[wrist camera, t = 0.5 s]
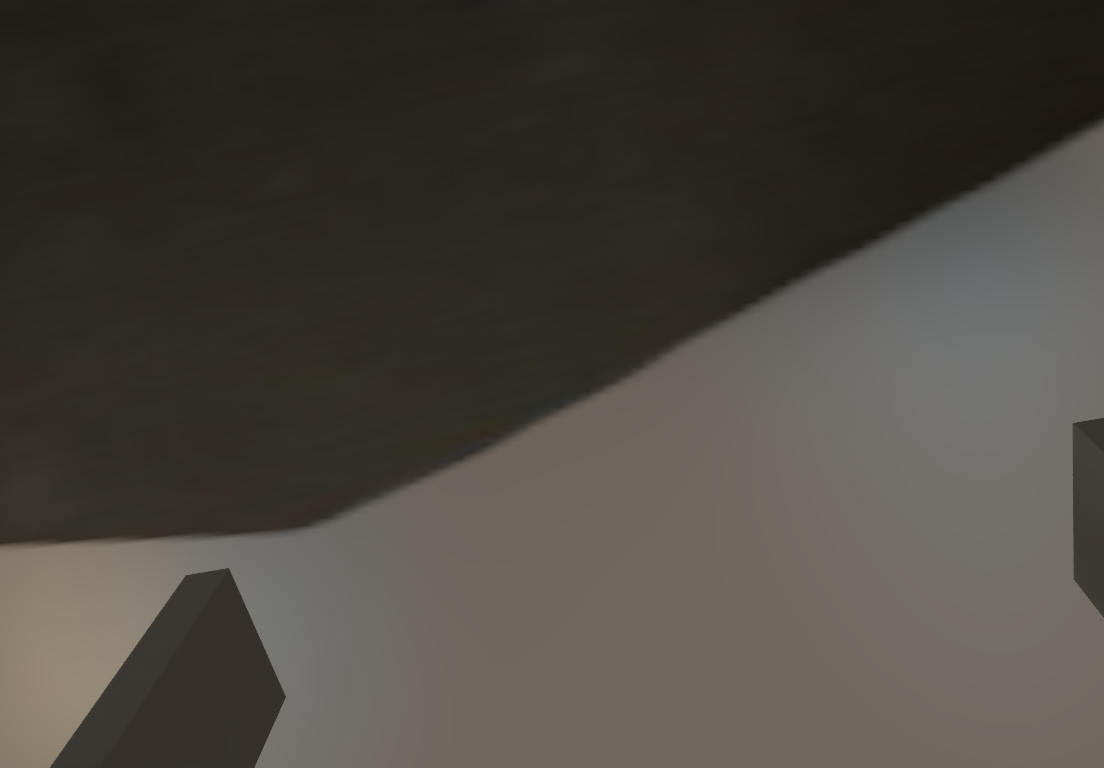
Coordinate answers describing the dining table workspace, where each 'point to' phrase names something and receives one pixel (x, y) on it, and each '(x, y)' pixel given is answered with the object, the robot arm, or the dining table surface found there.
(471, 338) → the dining table surface
